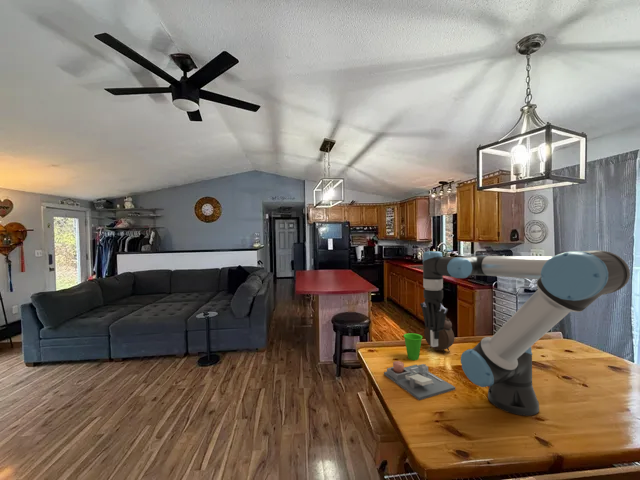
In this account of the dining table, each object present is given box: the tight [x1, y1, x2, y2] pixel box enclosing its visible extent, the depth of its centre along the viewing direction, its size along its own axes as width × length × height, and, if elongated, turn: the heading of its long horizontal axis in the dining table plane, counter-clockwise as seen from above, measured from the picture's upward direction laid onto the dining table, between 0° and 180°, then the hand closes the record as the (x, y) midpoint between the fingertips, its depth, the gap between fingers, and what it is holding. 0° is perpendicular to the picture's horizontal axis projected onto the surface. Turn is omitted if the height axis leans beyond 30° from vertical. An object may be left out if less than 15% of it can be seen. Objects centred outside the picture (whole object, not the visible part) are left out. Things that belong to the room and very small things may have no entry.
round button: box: [392, 360, 405, 374], centre depth 122 cm, size 4×4×3 cm
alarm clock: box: [423, 317, 455, 354], centre depth 150 cm, size 14×7×20 cm, turn 36°
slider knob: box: [417, 363, 429, 375], centre depth 122 cm, size 3×3×4 cm
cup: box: [403, 332, 423, 361], centre depth 141 cm, size 9×9×11 cm
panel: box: [383, 364, 456, 401], centre depth 118 cm, size 22×18×4 cm
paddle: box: [405, 373, 433, 386], centre depth 114 cm, size 10×5×1 cm, turn 22°
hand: (434, 346), depth 117 cm, fingers closed
